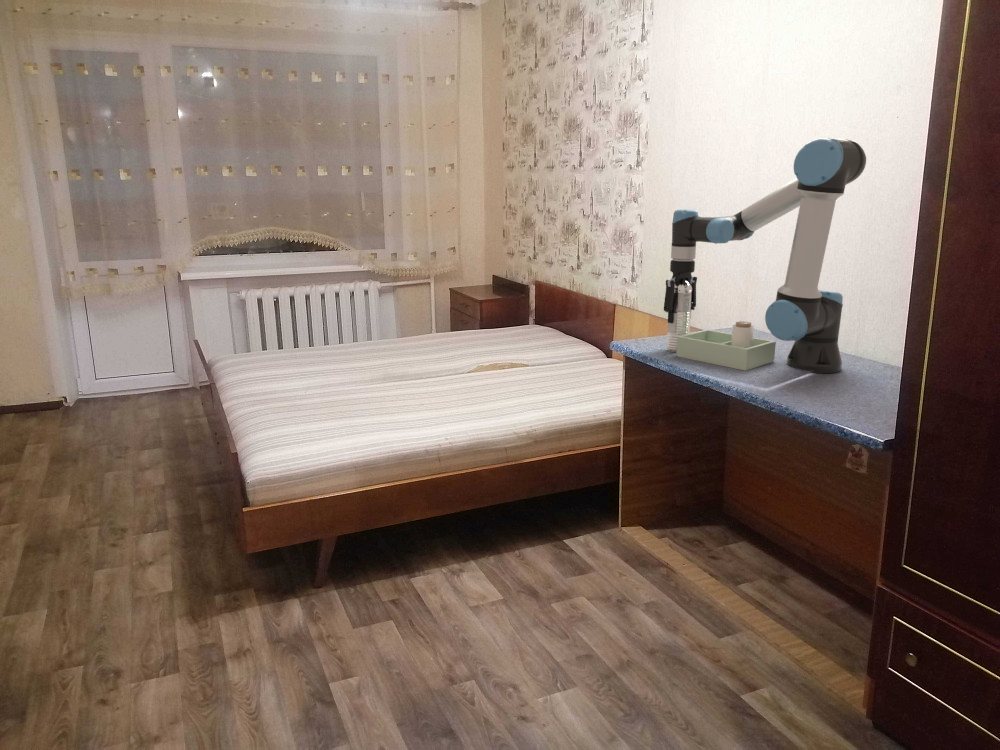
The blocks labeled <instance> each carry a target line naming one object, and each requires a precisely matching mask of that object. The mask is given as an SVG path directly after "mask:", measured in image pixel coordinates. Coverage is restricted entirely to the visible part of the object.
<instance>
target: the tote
mask: <svg viewBox="0 0 1000 750" xmlns="http://www.w3.org/2000/svg"><path fill="white" fill-rule="evenodd" d="M731 342H732V333H730V332H723V331H720V330H719V331H718V330H711V329H703V330H700V331H695V332H689V334H686V335H682V336H678V337H677V352H675V354H676V357H679V358H684V359H687V360H692V361H693V360H694V361H698V362H702V363H703V362H704V363H707V364H712V365H716V366H722V367H725V368H726V367H727V368H730V369H736V370H740V371H741V370H742V371H745V372H746V371H749V370H751V369H755V368H758V367H760V366H764V365H767V364H770V363H774V362H775V354H776V346H777V345H776V344H777V343H776V341H775V340H769V339H765V338H764V339H763V338H757V337H753V342H752V347H749V348H741V347H735V346H731Z"/></svg>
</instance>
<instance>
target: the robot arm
mask: <svg viewBox="0 0 1000 750" xmlns="http://www.w3.org/2000/svg"><path fill="white" fill-rule="evenodd" d="M866 164H867V154H866V151H865V149H864V147H863V146H862V145H861V144H860V143H859V142H857V141H856V140H852V139H846V138H845V139H843V138H832V137H831V138H830V137H826V138H825V137H824V138H823V137H822V138H816V139H813V140H810V141H808V142H807V143H805V144H804V145H803V146H802V147H801V148H800V149H799V150H798V152H797V154H796V156H795V158H794V161H793V172H794V175H795V177H796V178H795V179H792V180H791V181H789V182H787V183H786V184H784V185H782V186H781V187H779V188H777V189H776V190H773V191H772V192H770V193H769V194H767V195H765V196H764V197H762V198H760V199H759V200H757V201H756V202H754V203H752V204H750V205H749V206H747V207H746V208H744V209H743V210H741V211H739V212H737V213H736V214H733V215H728V216H714V217H710V216H705V217H704V216H702V217H701V216H699V212H698V210H697V209H677V210H674V212H673V218H672V223H671V228H672V229H671V232H672V233H671V248H670V249H671V251H670V258H671V260H670V265H669V266H670V267H669V271H670V272H671V273H672V277H671V278H670V279H666V280H665V294H664V295H665V296H664V304H663V312H664V313H667V333H668V332H669V333H674V334H675V333H676V322H677V313H675V311H676V307H677V304H678V293H674V291H675V286H679V285H681V286H682V284H684V283H685V281H686V280H687V281H688V282H689V283H690V285H691V286H692V292H691V309H690V312H691V314H690V320H691V318H692V311H694V310H695V309H696V307H697V281H698V277H697V276H692V273H695V267H696V266H695V265H696V261H695V259H696V251H697V247H696V246H697V242H698V243H699V242H702V243H712V244H715V245H718V244H727V243H729V242H733V241H743V240H747V239H749V238H750V237H752V236H753V234H755V232H756V231H757V230H760V229H761V228H763V227H765V226H766V225H769V224H770V223H773V222H774V221H776V220H777V219H779V218H781V217H783V216H784V215H786V214H789V213H790V212H791V211H794V210H795V209H797V208H799V209H798V214H797V219H796V223H795V229H794V234H793V240H792V244H791V250H790V255H789V260H788V265H787V271H786V277H785V281H784V284H783V285H781V286H780V287H778V289H777V291H776V298H775V301H773V302H772V303H771V304H770V305H769V306H768V307H767V309H766V311H765V315H764V320H765V326H766V328H767V329H768V330H769V332H770V334H771V335H772V336H773V337H775V338H776V339H778V340H780V341H784V342H790V341H791V342H792V341H794V342H793V345H792V346H791V349H790V350H789V353H788V354H787V355H788V356H787V358H786V365H788V366H790V367H792V368H794V369H799V370H803V371H811V372H810V373H813V374H832V373H833V374H834V373H839V372H840V371H842V365H843V360H842V356H841V353H840V347H839V336H840V327H841V319H842V318H841V317H842V311H843V306H844V304H843V298H844V297H843V295H842V294H841V292H838V291H837V292H836V291H831V290H830V291H829V290H822V289H818V287H819V283H820V278H821V273H822V268H823V263H824V260H825V258H824V257H825V253H826V250H827V244H828V239H829V235H830V230H831V225H832V220H833V215H834V211H835V206H836V201H837V199H839V198H840V197H842V196H843V195H844V193H845V189H846V186H847V185H849V184H851V183H853V182H854V181H855V180H857V179H858V178H859V177H860V176H861V175H862V173H863V172H864V170H865V168H866ZM680 283H681V284H680ZM679 291H680V290H679ZM672 308H673V309H672Z"/></svg>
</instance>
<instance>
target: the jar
mask: <svg viewBox="0 0 1000 750" xmlns="http://www.w3.org/2000/svg"><path fill="white" fill-rule="evenodd" d="M754 328H755V326H754V325H752V322H750V321H744V320H743V321H741V320H740V321H735V324H733V325H732V328H731V329H732V333H731V334H732V342H731V346H735V347H741V348H749V347H752V342H753V338H754V332H755V331H754V330H755V329H754Z"/></svg>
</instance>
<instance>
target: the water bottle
mask: <svg viewBox="0 0 1000 750" xmlns="http://www.w3.org/2000/svg"><path fill="white" fill-rule="evenodd" d="M680 284H681V283H680ZM679 290H680V291H679ZM691 292H692V286H691V285H690V283H689V282H688V281H687V280H686V281H685V283H684V284H682V286H681V285H679V286H675V291H674V293H678V304H677V307H676V311H675V313H677V322H676V333H675V334H674V333H669V332H668V331H667V338H666V339H667V343H666V349H667V351H668V352H671V353H676V352H677V337H678V336H682V335H686V334H690V329H691V319H690V314H691V315H692V311H691V312H690V309H691ZM672 309H673V308H672Z"/></svg>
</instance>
